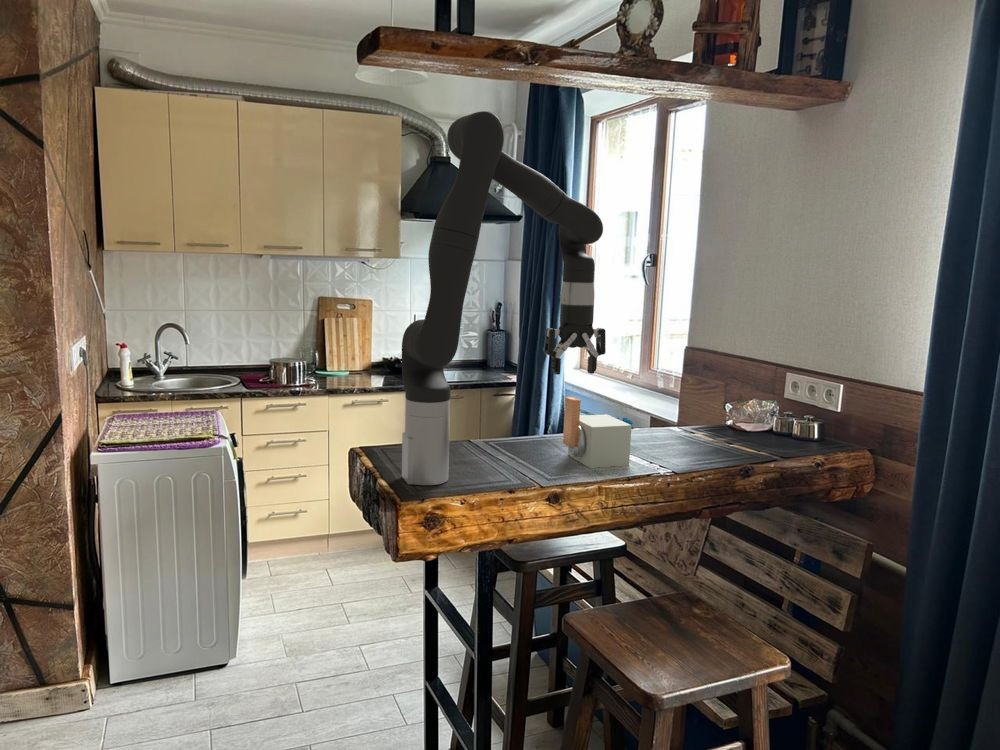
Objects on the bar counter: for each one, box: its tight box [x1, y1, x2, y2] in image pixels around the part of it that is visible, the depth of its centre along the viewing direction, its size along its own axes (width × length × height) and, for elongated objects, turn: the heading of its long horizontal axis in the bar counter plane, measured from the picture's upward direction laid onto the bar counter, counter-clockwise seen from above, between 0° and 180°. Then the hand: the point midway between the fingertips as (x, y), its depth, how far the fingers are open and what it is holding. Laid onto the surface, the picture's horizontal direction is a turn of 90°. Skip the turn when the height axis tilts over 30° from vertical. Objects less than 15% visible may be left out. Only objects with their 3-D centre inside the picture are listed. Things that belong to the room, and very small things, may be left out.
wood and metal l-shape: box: [562, 396, 586, 457], centre depth 172 cm, size 9×8×14 cm
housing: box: [567, 413, 633, 469], centre depth 174 cm, size 10×12×10 cm
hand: (574, 373), depth 169 cm, fingers open, 8 cm apart
